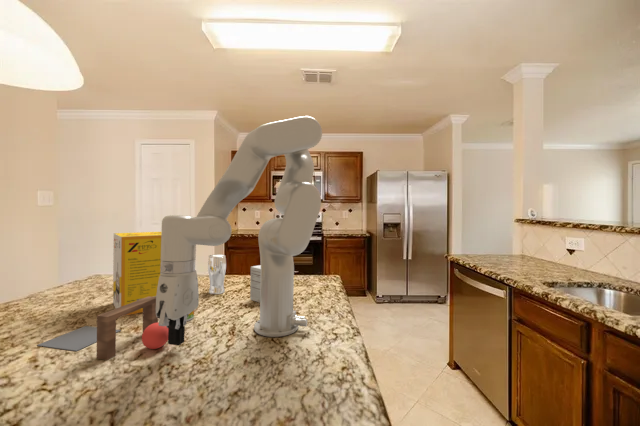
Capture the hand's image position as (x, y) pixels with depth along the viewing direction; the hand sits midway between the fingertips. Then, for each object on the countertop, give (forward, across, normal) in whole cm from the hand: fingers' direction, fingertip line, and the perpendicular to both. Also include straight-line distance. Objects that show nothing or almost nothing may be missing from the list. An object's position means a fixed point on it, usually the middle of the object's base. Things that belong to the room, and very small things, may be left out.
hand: (176, 343), depth 70 cm
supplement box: (+2, +42, -5) cm, 43 cm away
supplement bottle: (+2, +19, +11) cm, 22 cm away
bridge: (+2, +1, +13) cm, 14 cm away
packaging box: (+2, +27, +33) cm, 43 cm away
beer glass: (+2, +47, +16) cm, 50 cm away
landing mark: (+2, +1, +28) cm, 29 cm away
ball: (-1, 0, +6) cm, 6 cm away
